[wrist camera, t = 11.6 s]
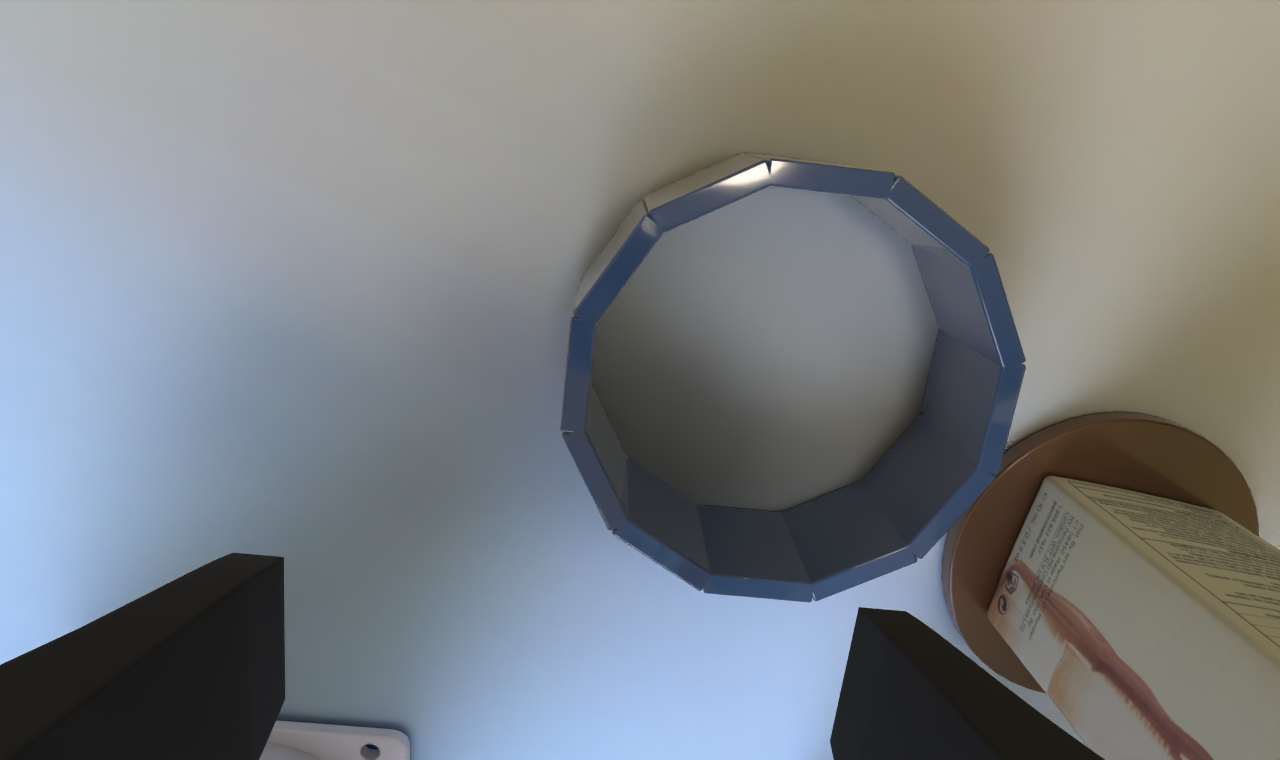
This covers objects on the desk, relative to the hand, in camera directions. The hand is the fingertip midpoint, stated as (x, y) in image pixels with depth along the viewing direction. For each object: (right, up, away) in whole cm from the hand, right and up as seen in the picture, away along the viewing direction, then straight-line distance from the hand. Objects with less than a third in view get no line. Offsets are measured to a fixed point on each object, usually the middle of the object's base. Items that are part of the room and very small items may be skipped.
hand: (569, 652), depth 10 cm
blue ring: (+4, +4, +10) cm, 11 cm away
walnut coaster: (+13, -1, +12) cm, 17 cm away
